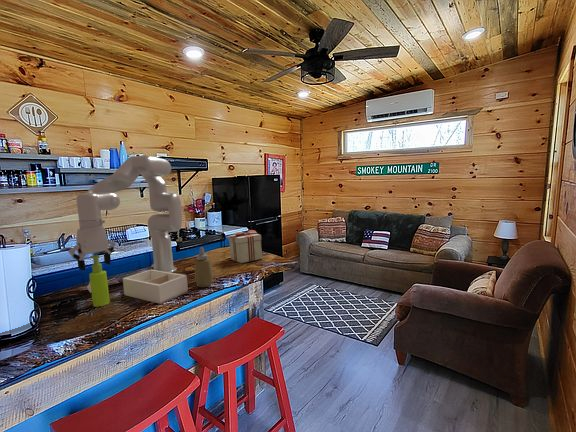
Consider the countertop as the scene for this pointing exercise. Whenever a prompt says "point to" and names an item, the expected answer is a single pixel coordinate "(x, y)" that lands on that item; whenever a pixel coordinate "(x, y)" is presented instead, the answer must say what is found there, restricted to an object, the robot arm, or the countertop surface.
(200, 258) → the squeeze bottle
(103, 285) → the soap dispenser
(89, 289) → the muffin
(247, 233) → the gift box
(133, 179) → the robot arm
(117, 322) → the countertop surface
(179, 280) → the caddy
